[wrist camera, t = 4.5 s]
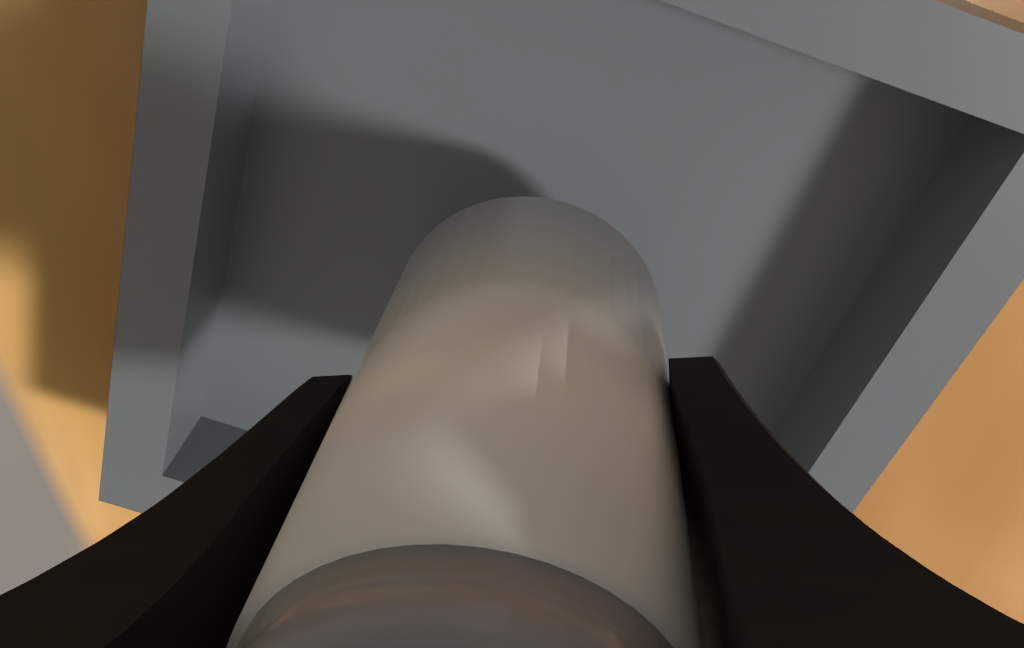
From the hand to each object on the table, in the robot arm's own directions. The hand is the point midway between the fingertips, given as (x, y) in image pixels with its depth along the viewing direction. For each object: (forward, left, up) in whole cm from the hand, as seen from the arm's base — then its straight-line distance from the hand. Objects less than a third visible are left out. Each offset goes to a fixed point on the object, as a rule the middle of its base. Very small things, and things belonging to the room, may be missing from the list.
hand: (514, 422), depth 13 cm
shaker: (0, 0, -3) cm, 3 cm away
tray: (0, 0, -6) cm, 6 cm away
